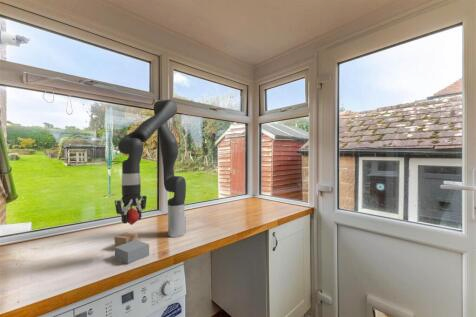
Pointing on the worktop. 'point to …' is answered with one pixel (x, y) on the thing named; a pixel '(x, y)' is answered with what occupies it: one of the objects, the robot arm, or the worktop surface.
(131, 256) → the grey block
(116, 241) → the walnut block
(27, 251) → the worktop surface
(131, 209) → the onion
